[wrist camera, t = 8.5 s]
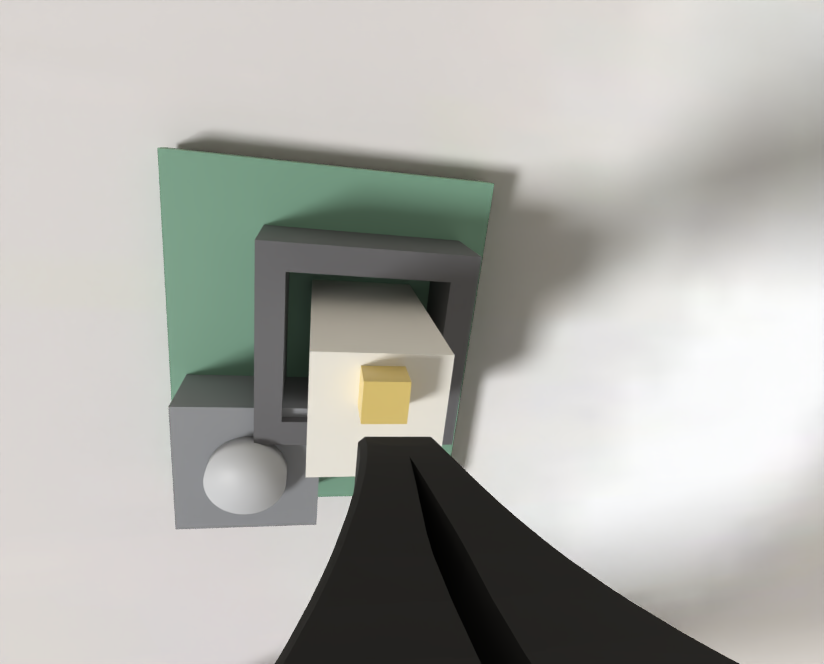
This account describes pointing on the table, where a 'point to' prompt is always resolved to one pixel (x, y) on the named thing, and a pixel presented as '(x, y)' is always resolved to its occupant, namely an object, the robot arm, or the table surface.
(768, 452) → the table surface
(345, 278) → the board
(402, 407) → the plug
